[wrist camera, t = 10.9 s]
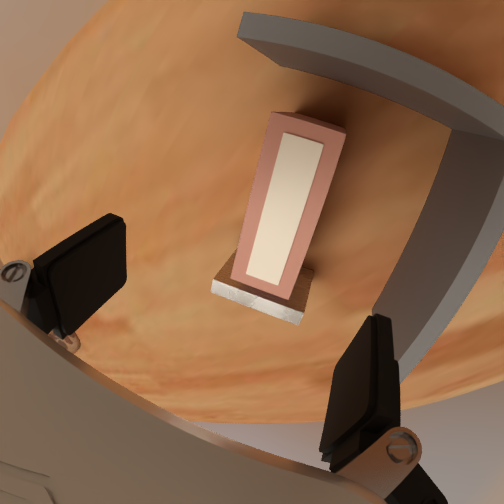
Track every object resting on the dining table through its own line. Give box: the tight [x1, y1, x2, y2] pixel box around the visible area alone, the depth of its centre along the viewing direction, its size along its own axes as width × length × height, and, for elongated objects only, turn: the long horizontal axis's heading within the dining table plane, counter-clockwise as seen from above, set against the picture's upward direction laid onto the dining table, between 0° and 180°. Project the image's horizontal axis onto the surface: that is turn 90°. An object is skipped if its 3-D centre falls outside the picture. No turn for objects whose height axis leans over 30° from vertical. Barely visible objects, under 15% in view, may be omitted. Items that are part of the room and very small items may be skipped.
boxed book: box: [231, 112, 346, 300], centre depth 22 cm, size 12×4×9 cm, turn 166°
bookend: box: [211, 249, 314, 325], centre depth 29 cm, size 6×8×7 cm
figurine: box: [49, 330, 80, 354], centre depth 48 cm, size 7×7×12 cm
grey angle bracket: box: [237, 12, 504, 383], centre depth 21 cm, size 22×18×11 cm
